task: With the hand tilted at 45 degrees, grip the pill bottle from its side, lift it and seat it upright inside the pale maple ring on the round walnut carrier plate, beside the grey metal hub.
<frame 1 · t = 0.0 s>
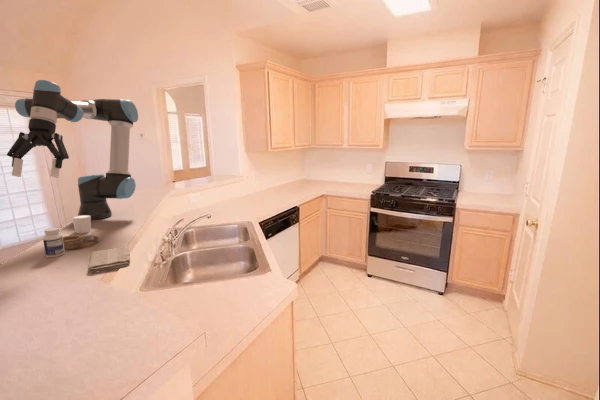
hand: (35, 176, 105), 28 cm above the counter, tool tilted 20°, fingers open, 13 cm apart
white cup: (83, 231, 132), on the counter
carrier: (77, 244, 115), on the counter
washcloth: (110, 262, 100), on the counter
pill bottle: (55, 255, 104), on the counter
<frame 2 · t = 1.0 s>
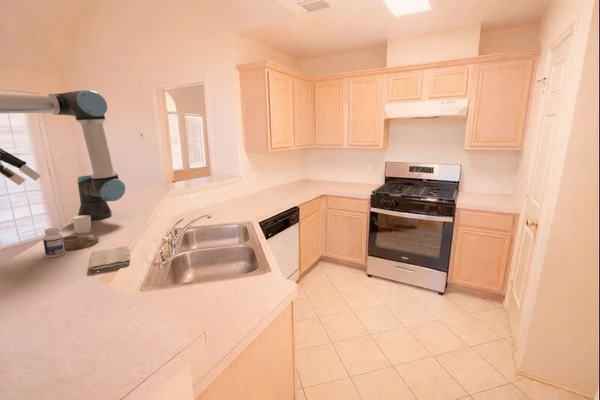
hand: (30, 180, 109), 26 cm above the counter, tool tilted 45°, fingers open, 13 cm apart
nothing on the counter moved.
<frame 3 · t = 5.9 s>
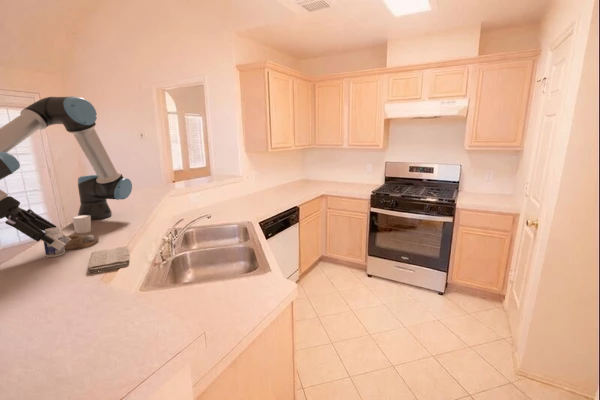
hand: (65, 244, 105), 3 cm above the counter, tool tilted 45°, fingers closed on pill bottle, 5 cm apart
pill bottle: (55, 255, 104), on the counter, touching gripper
everything else where it was.
when the fingers open (6 cm above the counter, at t = 10.2 s): pill bottle drops 1 cm, resting on carrier.
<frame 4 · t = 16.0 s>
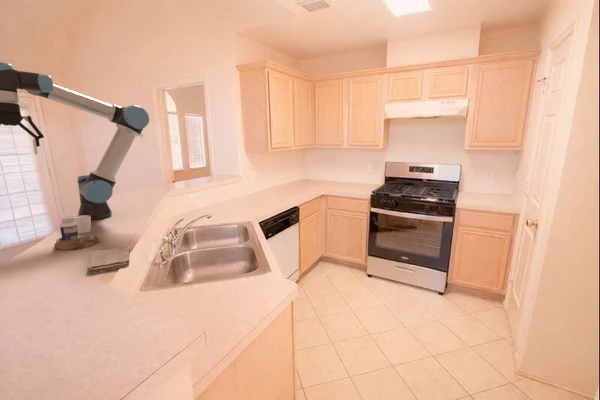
hand: (14, 154, 123), 35 cm above the counter, tool pointing down, fingers open, 13 cm apart
pill bottle: (71, 241, 115), point 1 cm above the counter, touching carrier
everything else where it was.
at the end: pill bottle 0.4 cm from the target spot on the carrier, point 1.0 cm above the carrier's base; pill bottle tilted 0°; the gripper is holding nothing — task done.
